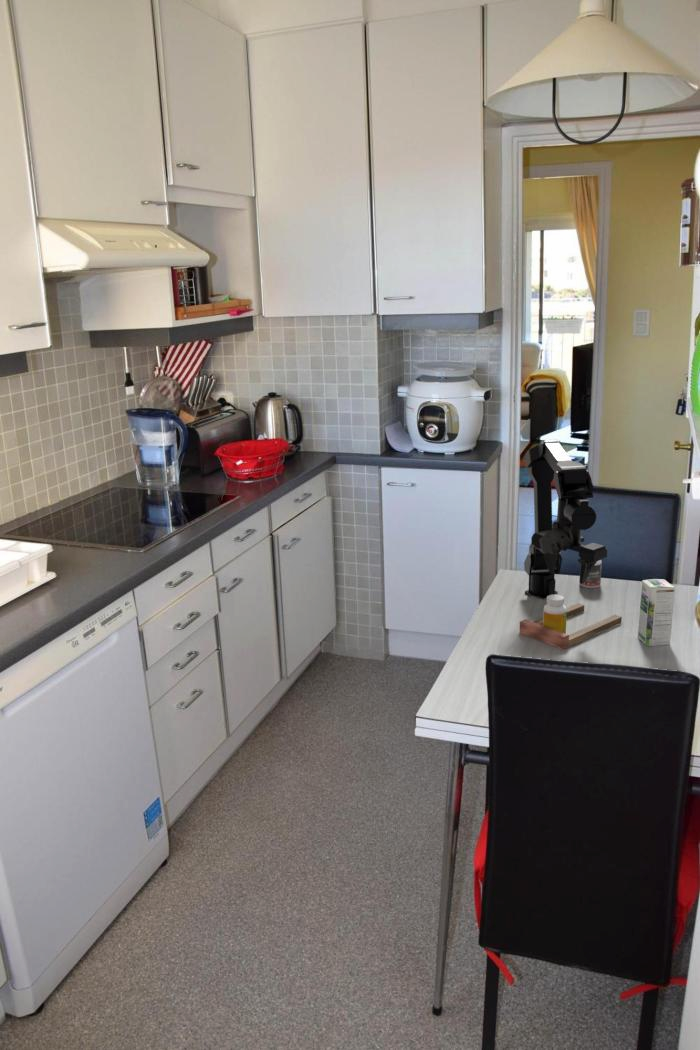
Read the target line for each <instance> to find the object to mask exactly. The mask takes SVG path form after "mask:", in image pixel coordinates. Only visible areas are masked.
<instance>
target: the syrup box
mask: <svg viewBox="0 0 700 1050" xmlns="http://www.w3.org/2000/svg"><path fill="white" fill-rule="evenodd" d="M675 590H676V587H675V586H673V585H672V584H671V583H670V582H668V581H667V580H666V579H661V578H660V579H659V578H652V579H643V580H642V582H641V592H640V604H639V606H640V607H639V616H638V617H639V618H638V626H637V627H638V629H637V630H638V631H637V638H638V639H640V640H641V642H642V643H644V645H645V646H647V647H655V646H656V647H657V646H668V645H671V640H672V639H671V638H672V627H673V616H674V604H675V603H674V602H675V594H676V593H675V592H676V591H675Z"/></svg>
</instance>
